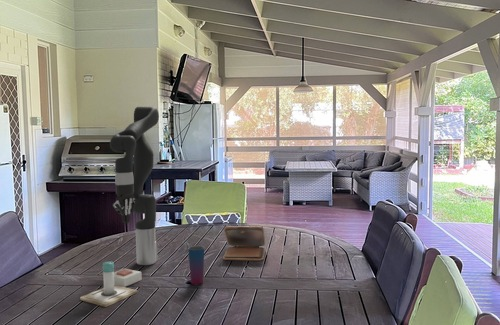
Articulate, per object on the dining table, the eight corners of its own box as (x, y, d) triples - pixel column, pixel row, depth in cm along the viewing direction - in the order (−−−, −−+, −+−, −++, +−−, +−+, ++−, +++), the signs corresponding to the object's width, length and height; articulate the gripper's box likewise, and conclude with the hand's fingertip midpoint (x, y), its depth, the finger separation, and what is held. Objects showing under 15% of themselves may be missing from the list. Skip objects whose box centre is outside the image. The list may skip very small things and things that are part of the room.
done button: (124, 275, 199) (124, 269, 198) (132, 277, 196) (131, 271, 196) (116, 278, 195) (116, 272, 195) (124, 280, 193) (124, 274, 192)
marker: (109, 290, 182) (108, 260, 181) (117, 292, 180) (116, 262, 179) (101, 293, 179) (100, 263, 178) (108, 295, 177) (107, 265, 175)
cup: (190, 286, 190) (189, 250, 188) (187, 280, 196) (187, 246, 195) (206, 284, 191) (205, 249, 190) (203, 278, 198) (202, 245, 196)
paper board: (112, 286, 190) (112, 283, 190) (137, 292, 183) (136, 289, 183) (80, 299, 176) (80, 296, 176) (105, 307, 169) (105, 303, 169)
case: (266, 249, 242) (265, 219, 241) (263, 261, 222) (262, 229, 220) (228, 249, 244) (227, 219, 243) (221, 261, 224) (220, 229, 222)
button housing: (124, 275, 203) (124, 268, 202) (141, 279, 198) (141, 271, 197) (107, 283, 194) (107, 274, 194) (124, 287, 189) (124, 278, 189)
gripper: (129, 180, 201) (130, 219, 203) (106, 184, 190) (107, 225, 191) (142, 181, 197) (143, 220, 199) (119, 185, 186) (120, 227, 188)
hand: (126, 223), depth 195 cm, fingers closed
